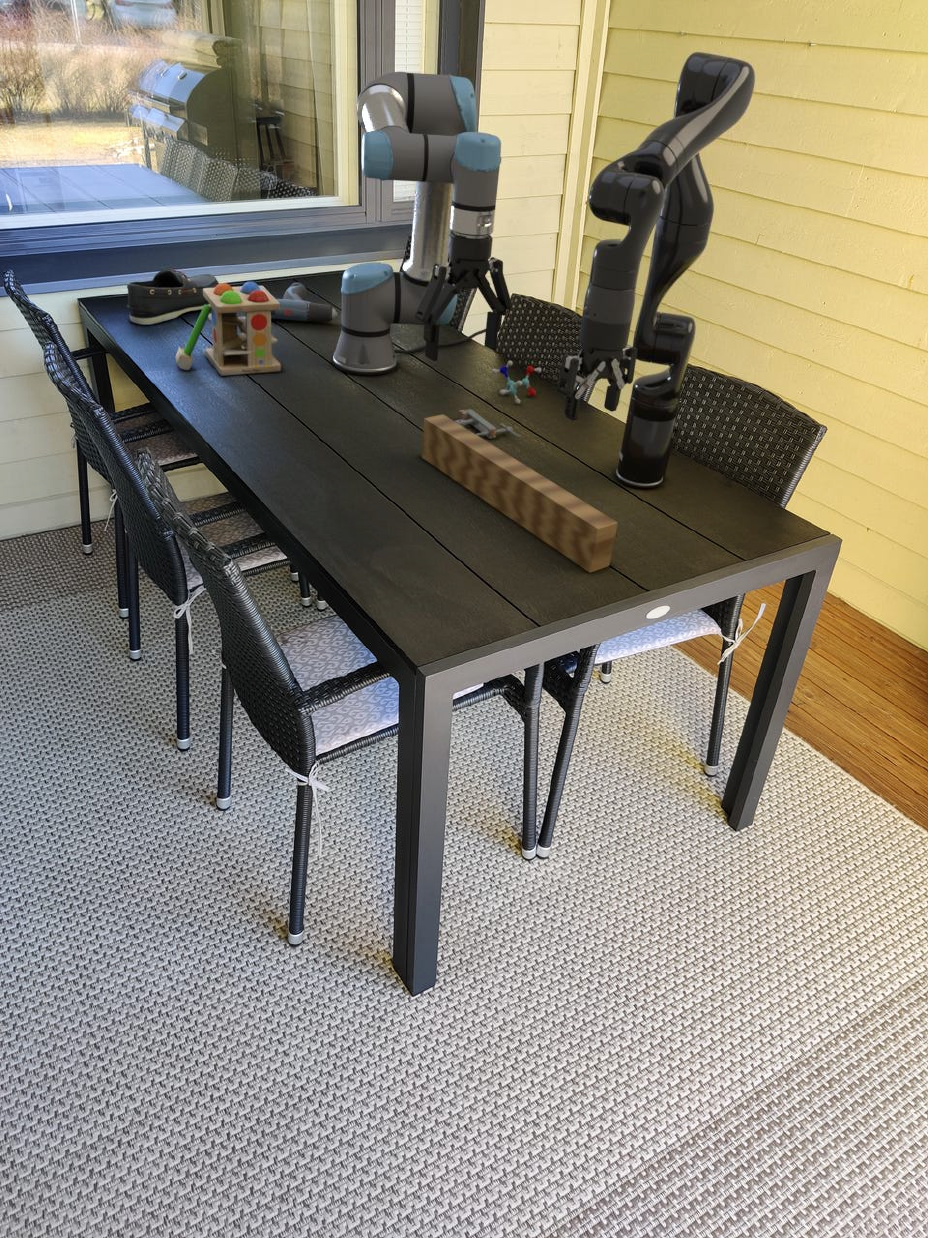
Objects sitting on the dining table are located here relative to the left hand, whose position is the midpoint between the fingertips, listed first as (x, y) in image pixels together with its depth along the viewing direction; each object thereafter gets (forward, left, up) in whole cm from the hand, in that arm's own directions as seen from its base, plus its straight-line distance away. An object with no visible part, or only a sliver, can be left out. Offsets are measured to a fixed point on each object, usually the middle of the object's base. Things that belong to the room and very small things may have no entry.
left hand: (461, 353), depth 181 cm
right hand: (+4, +35, +1) cm, 35 cm away
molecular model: (-38, -21, -24) cm, 50 cm away
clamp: (-18, -10, -24) cm, 31 cm away
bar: (+2, +18, -24) cm, 30 cm away
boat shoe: (-3, -113, -24) cm, 115 cm away
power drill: (-32, -94, -24) cm, 102 cm away
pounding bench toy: (+8, -71, -24) cm, 75 cm away
